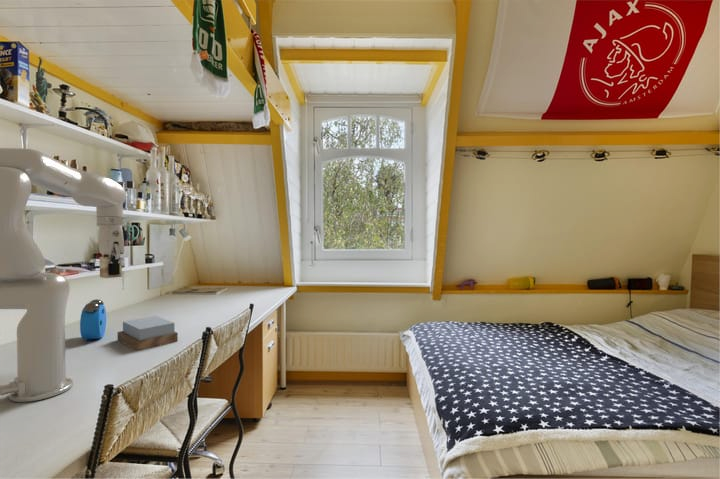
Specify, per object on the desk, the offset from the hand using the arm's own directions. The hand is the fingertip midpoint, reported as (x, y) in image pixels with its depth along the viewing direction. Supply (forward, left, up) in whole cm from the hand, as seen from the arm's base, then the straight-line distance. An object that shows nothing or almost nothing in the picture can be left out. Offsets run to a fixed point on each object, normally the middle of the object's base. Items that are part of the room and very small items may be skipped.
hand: (110, 273), depth 124 cm
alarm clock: (+2, +23, -28) cm, 36 cm away
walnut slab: (+13, +4, -28) cm, 32 cm away
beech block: (0, 0, -1) cm, 1 cm away
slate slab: (+14, +4, -24) cm, 28 cm away
